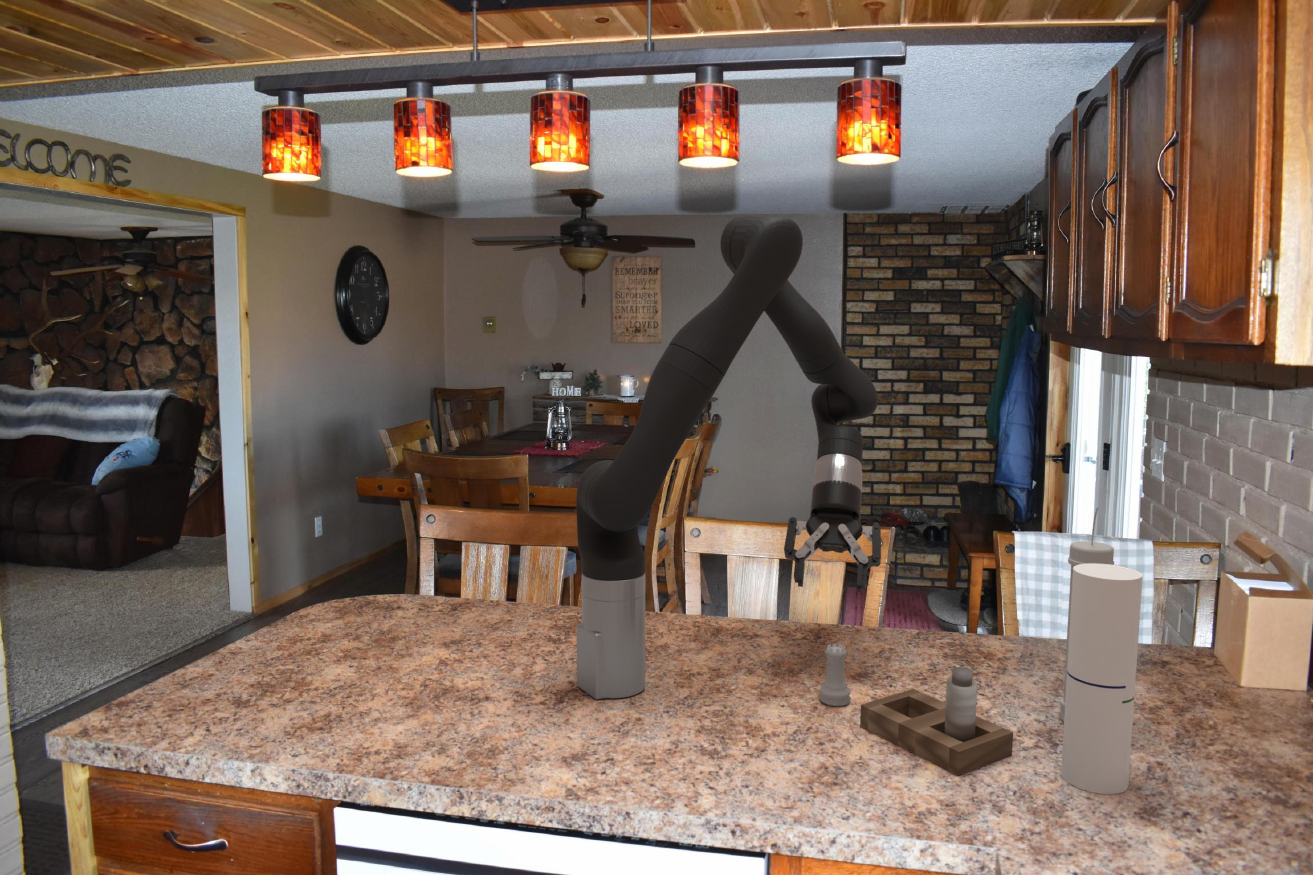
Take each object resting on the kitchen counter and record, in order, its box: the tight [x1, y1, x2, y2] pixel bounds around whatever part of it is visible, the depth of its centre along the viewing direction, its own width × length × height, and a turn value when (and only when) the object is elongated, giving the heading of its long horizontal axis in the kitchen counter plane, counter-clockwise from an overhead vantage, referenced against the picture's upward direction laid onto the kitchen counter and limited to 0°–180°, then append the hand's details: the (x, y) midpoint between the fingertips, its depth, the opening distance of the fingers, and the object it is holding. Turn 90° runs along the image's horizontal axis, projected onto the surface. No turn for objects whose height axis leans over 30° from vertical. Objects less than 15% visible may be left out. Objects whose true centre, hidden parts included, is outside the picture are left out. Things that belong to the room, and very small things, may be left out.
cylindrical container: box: [1060, 563, 1144, 795], centre depth 106 cm, size 7×7×25 cm
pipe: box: [1059, 506, 1115, 723], centre depth 121 cm, size 6×6×30 cm
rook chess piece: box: [818, 643, 852, 707], centre depth 130 cm, size 4×4×8 cm
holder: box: [859, 666, 1014, 777], centre depth 117 cm, size 16×10×11 cm, turn 32°
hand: (829, 587), depth 135 cm, fingers open, 8 cm apart
